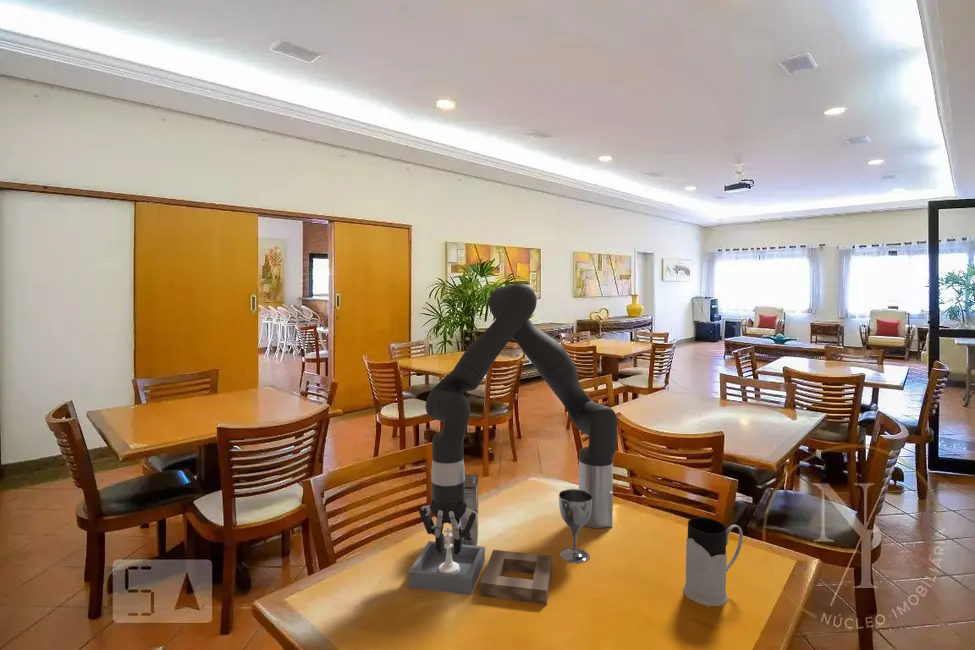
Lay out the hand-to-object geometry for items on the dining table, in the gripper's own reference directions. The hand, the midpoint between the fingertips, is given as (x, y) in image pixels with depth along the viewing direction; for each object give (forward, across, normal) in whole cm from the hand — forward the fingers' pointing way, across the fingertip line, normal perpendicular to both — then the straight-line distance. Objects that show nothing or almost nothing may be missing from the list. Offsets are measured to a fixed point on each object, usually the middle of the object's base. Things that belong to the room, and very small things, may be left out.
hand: (448, 551), depth 115 cm
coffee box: (+5, 0, -16) cm, 17 cm away
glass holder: (+5, -58, -5) cm, 58 cm away
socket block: (+5, -16, 0) cm, 17 cm away
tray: (+5, 0, 0) cm, 5 cm away
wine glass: (+5, -28, -14) cm, 32 cm away
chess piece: (+4, 0, 0) cm, 4 cm away
